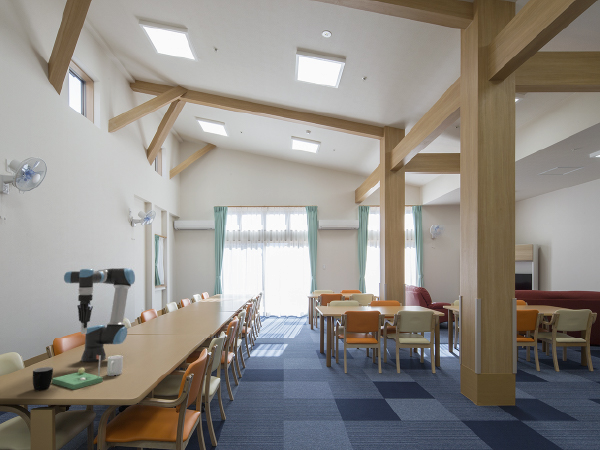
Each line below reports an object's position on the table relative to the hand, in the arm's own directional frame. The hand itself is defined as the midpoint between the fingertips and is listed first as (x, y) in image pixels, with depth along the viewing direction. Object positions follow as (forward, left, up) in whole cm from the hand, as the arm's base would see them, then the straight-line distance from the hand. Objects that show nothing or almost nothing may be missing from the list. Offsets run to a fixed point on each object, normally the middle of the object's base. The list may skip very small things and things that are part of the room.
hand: (83, 333), depth 228 cm
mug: (+8, -26, -25) cm, 37 cm away
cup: (+15, +11, -25) cm, 31 cm away
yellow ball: (+6, -3, -21) cm, 21 cm away
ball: (+17, -9, -23) cm, 30 cm away
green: (+12, -9, -25) cm, 29 cm away
